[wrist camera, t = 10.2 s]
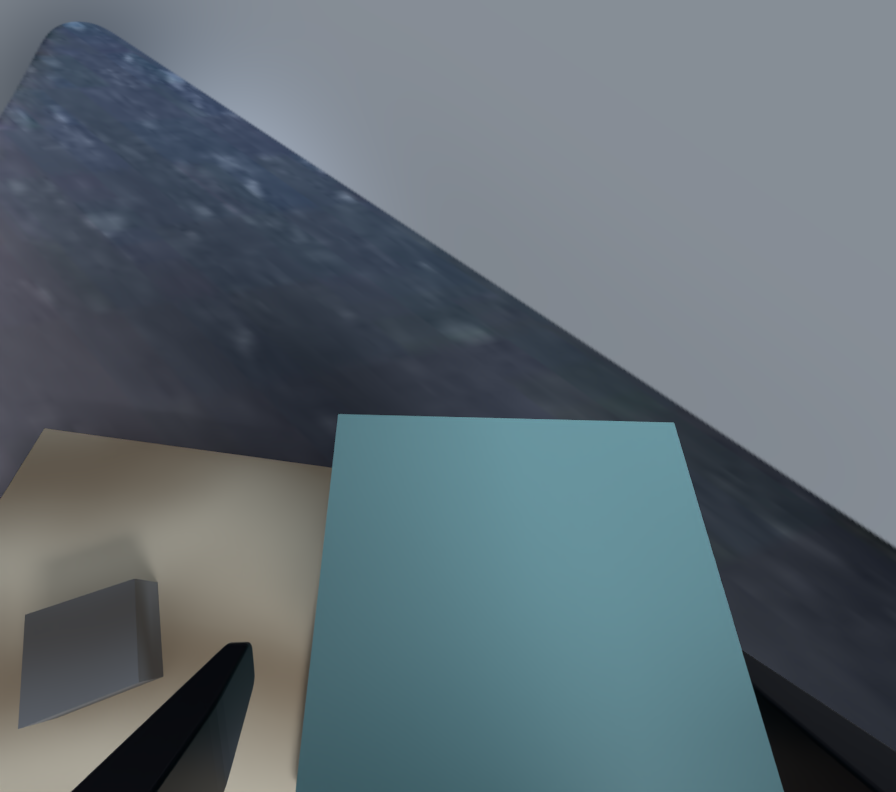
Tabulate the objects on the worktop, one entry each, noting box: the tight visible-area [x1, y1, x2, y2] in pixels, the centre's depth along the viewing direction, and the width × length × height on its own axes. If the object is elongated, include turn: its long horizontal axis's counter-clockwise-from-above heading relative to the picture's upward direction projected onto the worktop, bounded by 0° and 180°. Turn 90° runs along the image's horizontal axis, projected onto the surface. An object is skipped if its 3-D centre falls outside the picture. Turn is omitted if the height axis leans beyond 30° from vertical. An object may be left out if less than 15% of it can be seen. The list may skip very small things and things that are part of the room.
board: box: [0, 428, 332, 792], centre depth 14 cm, size 16×24×3 cm, turn 84°
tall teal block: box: [296, 414, 784, 792], centre depth 10 cm, size 5×5×11 cm
